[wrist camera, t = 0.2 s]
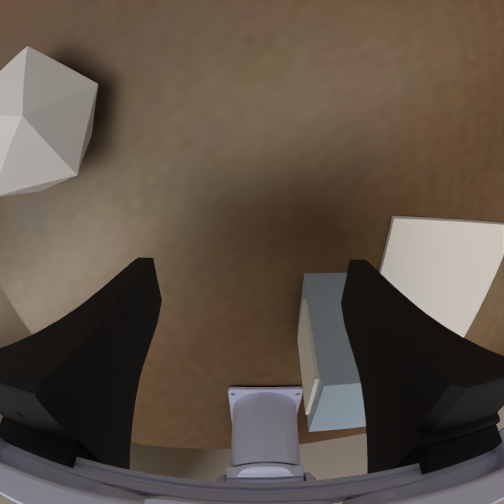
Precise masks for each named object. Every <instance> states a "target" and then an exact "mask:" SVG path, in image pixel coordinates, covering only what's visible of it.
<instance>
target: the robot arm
mask: <svg viewBox="0 0 504 504" xmlns="http://www.w3.org/2000/svg"><path fill="white" fill-rule="evenodd" d="M161 302H162V299H161V294H160V290H159V285H158V280H157V275H156V271H155V266H154V260H153V258H137V259H135V260H134V261H133V262H132V263H130V264H129V265H128V266H127V267H126V268H125V269H123V270H122V271H121V272H120V273H119V274H118V275H117V276H115V277H114V278H113V279H112V280H111V281H110V282H109V283H107V284H106V285H105V286H104V287H103V288H102V289H100V290H99V291H98V292H97V293H95V294H94V295H93V296H92V297H90V298H89V299H88V300H87V301H85V302H84V303H83V304H82V305H80V306H79V307H77V308H76V309H75V310H73V311H72V312H70V313H69V314H67V315H66V316H64V317H63V318H61V319H60V320H58V321H56V322H54V323H53V324H51V325H49V326H48V327H46V328H44V329H42V330H41V331H39V332H37V333H35V334H33V335H31V336H29V337H27V338H24V339H22V340H20V341H18V342H15V343H13V344H10V345H8V346H5V347H2V348H0V414H1V415H2V416H3V418H2V420H1V423H0V494H1V495H3V496H5V497H7V498H8V499H10V500H12V501H14V502H16V503H18V504H332V503H337V502H343V503H342V504H496V503H498V502H499V501H501V500H503V499H504V428H502V429H501V430H499V431H498V428H497V426H496V424H497V423H498V422H500V418H499V415H498V413H497V412H498V410H500V409H501V408H502V407H503V406H504V356H502V355H500V354H497V353H495V352H492V351H490V350H487V349H485V348H483V347H481V346H479V345H477V344H475V343H473V342H471V341H469V340H467V339H465V338H463V337H461V336H460V335H458V334H456V333H455V332H453V331H451V330H450V329H448V328H446V327H445V326H443V325H442V324H440V323H439V322H438V321H436V320H435V319H433V318H432V317H431V316H429V315H428V314H426V313H425V312H424V311H422V310H421V309H420V308H419V307H417V306H416V305H415V304H414V303H413V302H411V301H410V300H409V299H408V298H407V297H406V296H404V295H403V294H402V293H401V292H400V291H399V290H398V289H397V288H396V287H394V286H393V285H392V284H391V283H390V282H389V281H388V280H387V279H386V278H385V277H384V276H383V275H382V274H381V273H380V272H378V271H377V270H376V269H375V268H374V267H373V266H372V265H371V264H370V263H369V262H367V261H366V260H350V261H349V266H348V271H347V276H346V281H345V285H344V290H343V294H342V299H341V307H342V314H343V320H344V325H345V329H346V332H347V336H348V339H349V342H350V346H351V349H352V352H353V356H354V359H355V363H356V366H357V370H358V373H359V378H360V382H361V388H362V395H363V402H364V411H365V420H366V433H367V456H368V474H363V475H357V476H350V477H343V478H334V479H326V480H316V479H315V477H313V476H312V475H311V474H310V473H304V472H303V466H302V465H300V453H299V438H298V425H297V414H298V410H299V405H300V401H301V397H302V393H303V388H302V387H299V386H298V387H229V388H228V395H229V403H230V411H231V419H232V441H231V462H230V467H227V475H223V474H222V475H220V476H219V477H218V478H217V479H216V480H215V481H204V480H194V479H184V478H176V477H168V476H162V475H155V474H149V473H144V472H138V471H133V470H130V469H129V467H130V466H129V465H130V443H131V432H132V422H133V414H134V407H135V400H136V395H137V389H138V384H139V379H140V375H141V371H142V368H143V365H144V362H145V359H146V356H147V353H148V350H149V347H150V344H151V341H152V338H153V335H154V332H155V329H156V326H157V322H158V317H159V313H160V307H161ZM146 497H148V498H146Z"/></svg>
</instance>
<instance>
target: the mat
mask: <svg viewBox="0 0 504 504" xmlns="http://www.w3.org/2000/svg"><path fill="white" fill-rule="evenodd" d="M503 255H504V223H501V222H488V221H475V220H460V219H445V218H428V217H408V216H392V218H391V223H390V227H389V232H388V236H387V240H386V245H385V249H384V253H383V257H382V261H381V265H380V269H379V272H380V273H381V274H382V275H383V276H384V277H385V278H386V279H387V280H388V281H389V282H390V283H391V284H392V285H393V286H394V287H396V288H397V289H398V290H399V291H400V292H401V293H402V294H403V295H404V296H406V297H407V298H408V299H409V300H410V301H411V302H413V303H414V304H415V305H416V306H417V307H419V308H420V309H421V310H422V311H424V312H425V313H426V314H428V315H429V316H431V317H432V318H433V319H435V320H436V321H438V322H439V323H440V324H442V325H443V326H445V327H446V328H448V329H450V330H451V331H453V332H455V333H456V334H458V335H460V336H461V337H463V338H464V336H465V334H466V332H467V331H468V329H469V327H470V325H471V323H472V322H473V320H474V318H475V316H476V314H477V312H478V310H479V308H480V306H481V304H482V302H483V300H484V298H485V296H486V294H487V292H488V290H489V288H490V285H491V283H492V281H493V279H494V277H495V274H496V272H497V270H498V267H499V265H500V263H501V260H502V258H503Z"/></svg>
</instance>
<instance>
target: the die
mask: <svg viewBox="0 0 504 504" xmlns="http://www.w3.org/2000/svg"><path fill="white" fill-rule="evenodd" d="M97 90H98V84H97V83H96V82H94V81H92V80H90V79H88V78H87V77H85V76H83V75H81V74H79V73H78V72H76V71H74V70H72V69H70V68H68V67H67V66H65V65H63V64H61V63H59V62H57V61H55V60H53V59H51V58H50V57H48V56H46V55H44V54H42V53H40V52H38V51H36V50H34V49H32V48H30V47H28V46H27V47H26V48H25V49H23V50H22V51H21V52H20V53H19V54H18V55H17V56H16V57H15V58H14V59H12V60H11V61H10V62H9V63H8V64H7V65H6V66H5V67H4V68H3V69H2V70H1V71H0V196H7V195H15V194H23V193H31V192H40V191H42V190H44V189H46V188H49V187H51V186H53V185H55V184H58V183H60V182H62V181H65V180H67V179H69V178H72V177H74V176H77V175H78V172H79V169H80V166H81V163H82V160H83V157H84V155H85V152H86V149H87V146H88V144H89V141H90V139H91V136H92V129H93V120H94V111H95V104H96V97H97Z"/></svg>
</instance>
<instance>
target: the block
mask: <svg viewBox="0 0 504 504" xmlns="http://www.w3.org/2000/svg"><path fill="white" fill-rule="evenodd" d="M346 276H347V273H304V279H303V287H302V296H301V304H300V312H299V319H298V327H297V330H298V338H297V341H298V349H299V358H300V367H301V376H302V386H303V395H304V405H305V415H307V420H308V430H309V432H313V431H327V430H338V429H347V428H356V427H364V426H366V420H365V411H364V402H363V395H362V388H361V382H360V378H359V373H358V370H357V366H356V363H355V359H354V356H353V352H352V349H351V346H350V342H349V339H348V336H347V332H346V329H345V325H344V320H343V314H342V307H341V299H342V294H343V290H344V285H345V281H346Z"/></svg>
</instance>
